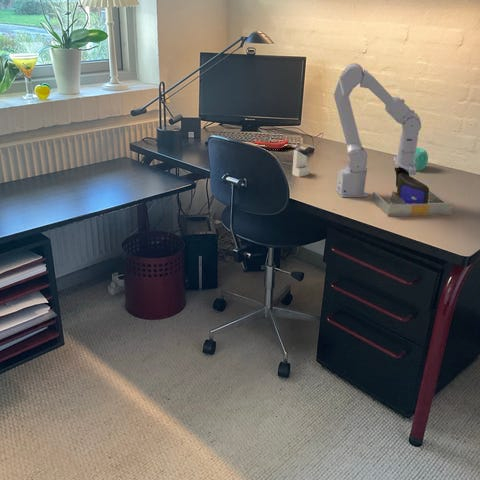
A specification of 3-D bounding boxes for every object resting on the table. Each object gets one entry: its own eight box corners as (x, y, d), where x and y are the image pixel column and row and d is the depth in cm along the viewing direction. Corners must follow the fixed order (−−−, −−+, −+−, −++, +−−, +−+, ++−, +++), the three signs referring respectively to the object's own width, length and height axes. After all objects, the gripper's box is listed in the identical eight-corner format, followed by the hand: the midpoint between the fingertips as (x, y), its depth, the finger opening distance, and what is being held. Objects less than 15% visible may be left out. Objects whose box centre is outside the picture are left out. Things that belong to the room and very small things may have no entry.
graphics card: (279, 156, 233) (280, 147, 232) (212, 148, 243) (212, 139, 241) (291, 146, 250) (292, 137, 249) (228, 138, 260) (228, 130, 258)
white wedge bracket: (284, 170, 205) (294, 149, 205) (299, 178, 212) (308, 158, 212) (291, 172, 203) (300, 151, 202) (306, 181, 210) (315, 160, 209)
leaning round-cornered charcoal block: (389, 198, 186) (391, 172, 182) (400, 196, 187) (403, 170, 183) (415, 215, 172) (418, 188, 168) (427, 213, 173) (431, 186, 169)
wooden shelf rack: (388, 216, 171) (389, 204, 169) (372, 200, 184) (373, 189, 183) (450, 215, 173) (452, 203, 172) (430, 199, 187) (432, 188, 185)
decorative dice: (411, 164, 226) (414, 146, 223) (426, 169, 220) (430, 150, 217) (398, 167, 222) (401, 148, 219) (413, 172, 216) (416, 152, 213)
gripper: (427, 156, 174) (420, 195, 180) (409, 144, 187) (403, 180, 193) (407, 156, 173) (400, 195, 179) (390, 144, 186) (384, 181, 192)
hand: (400, 188), depth 186 cm, fingers closed, pressing on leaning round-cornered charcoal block
